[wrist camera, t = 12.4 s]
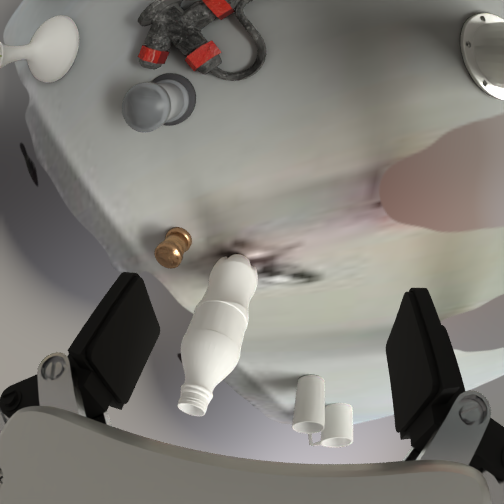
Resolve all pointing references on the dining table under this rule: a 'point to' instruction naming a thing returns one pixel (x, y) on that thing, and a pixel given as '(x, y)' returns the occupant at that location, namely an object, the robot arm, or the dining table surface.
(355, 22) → the dining table surface
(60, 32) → the flower in vase
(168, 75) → the pad
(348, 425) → the cup
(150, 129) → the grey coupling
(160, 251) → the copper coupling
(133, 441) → the robot arm
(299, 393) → the mug
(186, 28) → the valve
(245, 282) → the water bottle
